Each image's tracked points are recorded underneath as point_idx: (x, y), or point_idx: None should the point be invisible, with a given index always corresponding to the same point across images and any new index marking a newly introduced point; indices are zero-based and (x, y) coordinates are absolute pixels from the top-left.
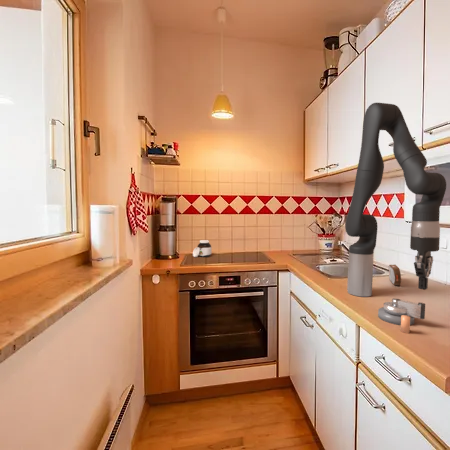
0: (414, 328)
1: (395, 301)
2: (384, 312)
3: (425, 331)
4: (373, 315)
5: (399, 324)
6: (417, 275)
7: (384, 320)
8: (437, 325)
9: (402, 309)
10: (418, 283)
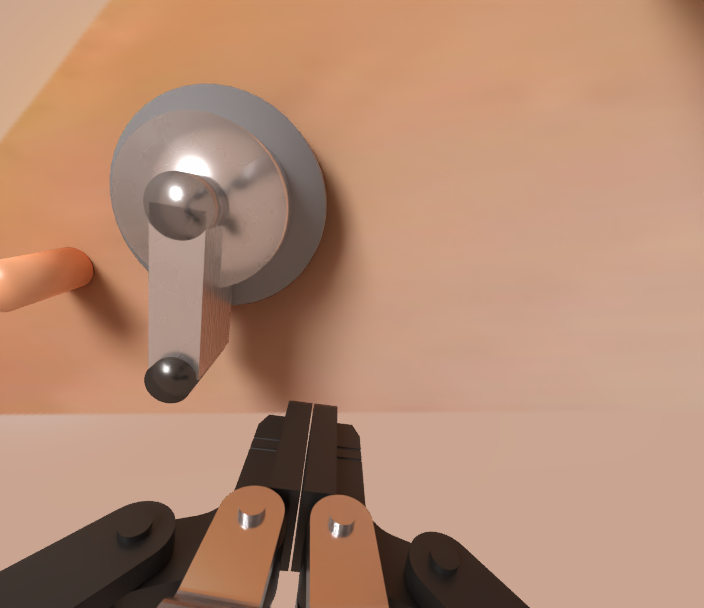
0: None
1: (147, 202)
2: None
3: None
4: (190, 67)
5: None
6: (109, 527)
7: None
8: (286, 385)
9: (139, 253)
10: (283, 428)
